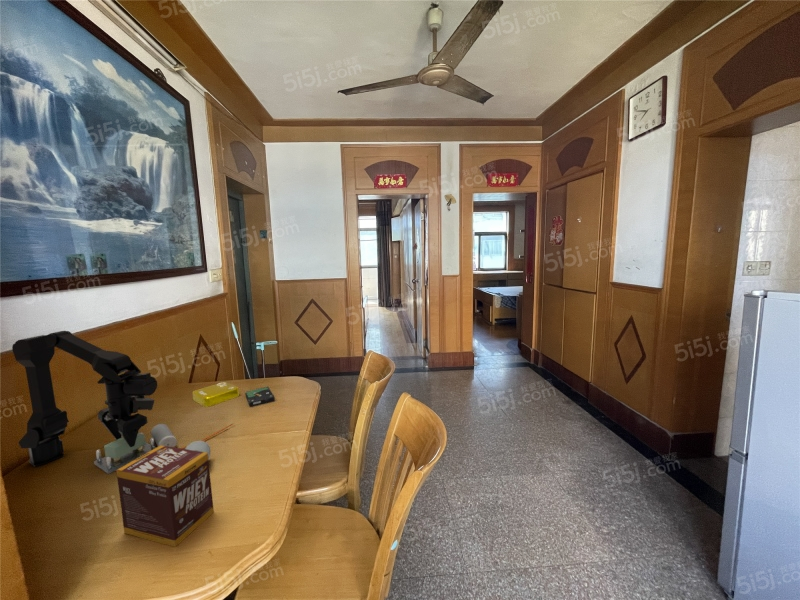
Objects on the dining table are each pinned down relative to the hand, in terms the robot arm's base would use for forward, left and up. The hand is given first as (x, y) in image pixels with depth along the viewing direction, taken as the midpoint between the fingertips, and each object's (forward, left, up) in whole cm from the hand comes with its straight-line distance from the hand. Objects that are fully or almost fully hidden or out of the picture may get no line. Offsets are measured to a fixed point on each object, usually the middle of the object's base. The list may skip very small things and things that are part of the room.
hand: (125, 442), depth 103 cm
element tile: (+41, +20, -6) cm, 47 cm away
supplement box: (-8, -42, -5) cm, 43 cm away
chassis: (0, 0, -5) cm, 5 cm away
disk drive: (+50, +1, -6) cm, 50 cm away
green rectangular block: (0, 0, -2) cm, 2 cm away
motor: (+19, -3, -6) cm, 20 cm away
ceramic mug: (+6, -26, -5) cm, 27 cm away
